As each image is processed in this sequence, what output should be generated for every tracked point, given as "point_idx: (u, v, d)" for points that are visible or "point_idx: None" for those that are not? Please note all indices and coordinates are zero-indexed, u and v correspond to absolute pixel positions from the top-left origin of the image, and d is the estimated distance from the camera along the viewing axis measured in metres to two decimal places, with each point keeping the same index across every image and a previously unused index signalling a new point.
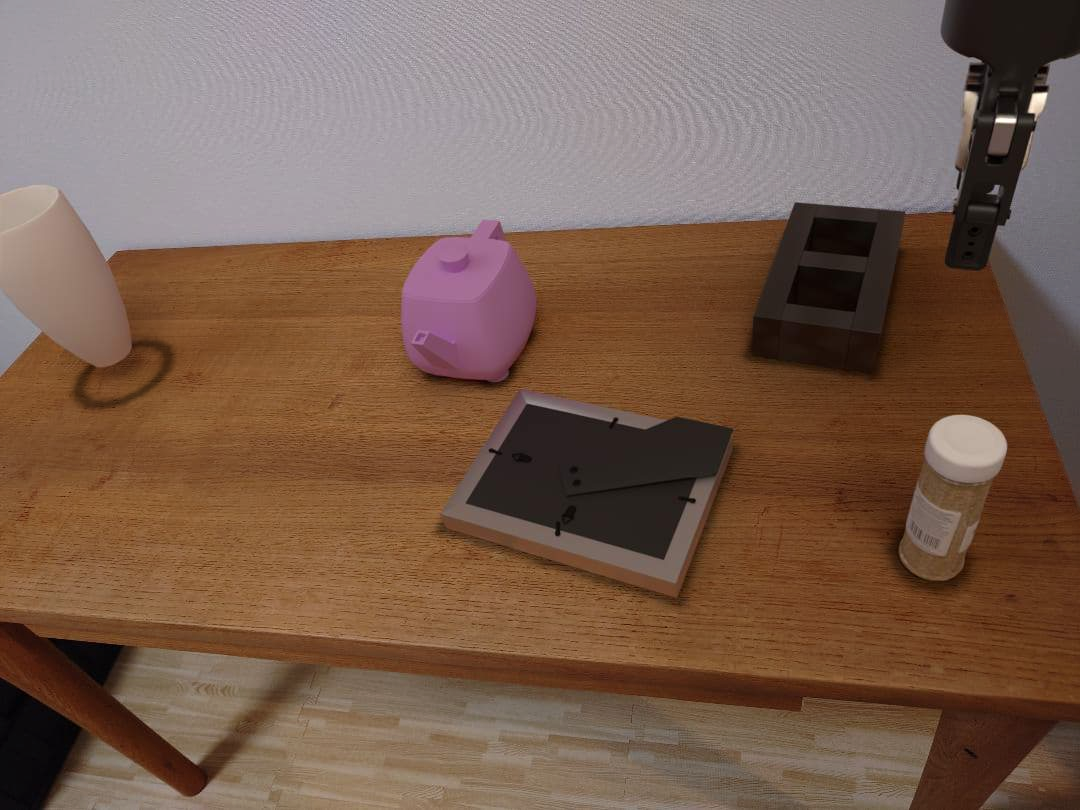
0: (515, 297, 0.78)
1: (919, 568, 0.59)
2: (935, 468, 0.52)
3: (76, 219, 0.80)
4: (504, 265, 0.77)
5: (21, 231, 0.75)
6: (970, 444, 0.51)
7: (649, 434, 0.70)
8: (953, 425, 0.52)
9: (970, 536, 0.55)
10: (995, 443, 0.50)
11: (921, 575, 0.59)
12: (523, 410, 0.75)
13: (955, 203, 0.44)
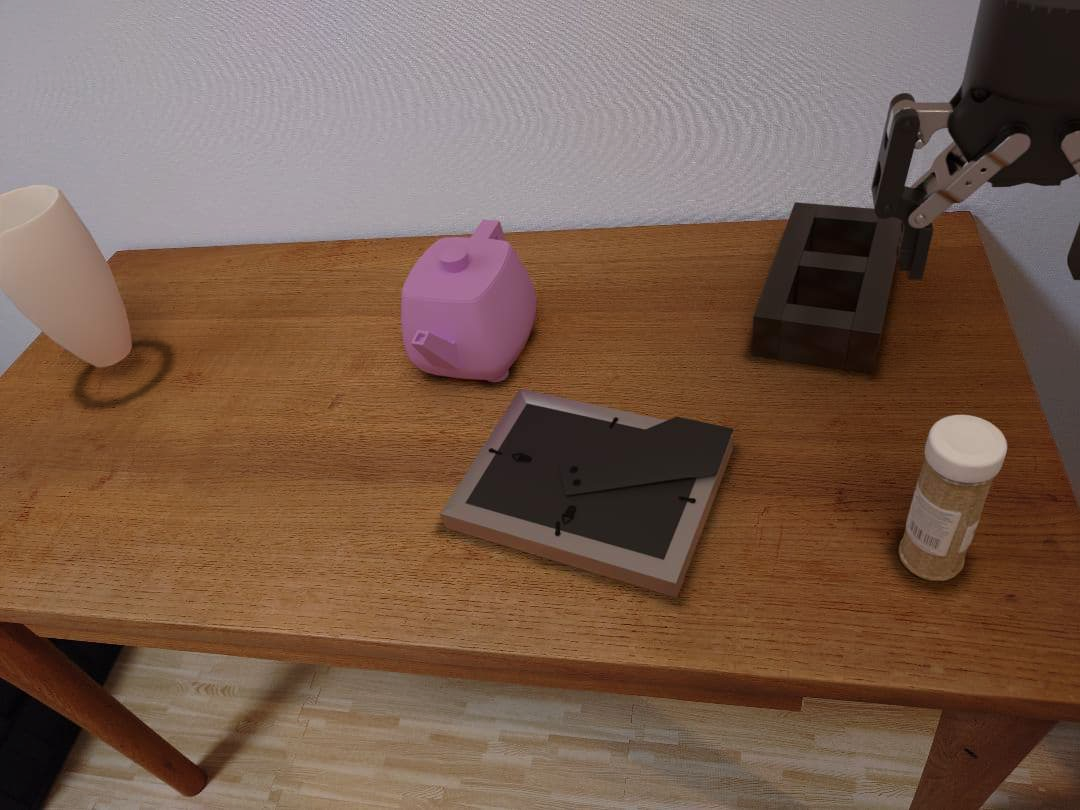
0: (515, 297, 0.78)
1: (919, 568, 0.59)
2: (935, 468, 0.52)
3: (76, 219, 0.80)
4: (504, 265, 0.77)
5: (21, 231, 0.75)
6: (970, 444, 0.51)
7: (649, 434, 0.70)
8: (953, 425, 0.52)
9: (970, 536, 0.55)
10: (995, 443, 0.50)
11: (921, 575, 0.59)
12: (523, 409, 0.75)
13: None
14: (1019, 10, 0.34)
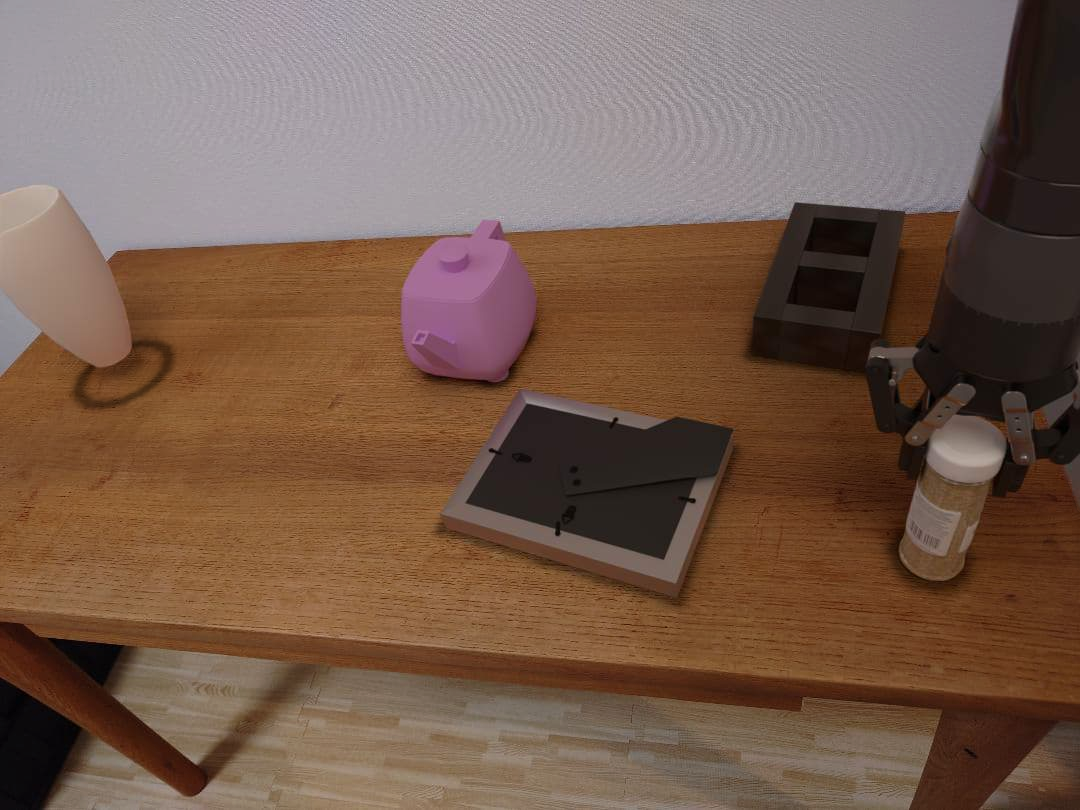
0: (515, 297, 0.78)
1: (919, 568, 0.59)
2: (935, 468, 0.52)
3: (76, 219, 0.80)
4: (504, 265, 0.77)
5: (21, 231, 0.75)
6: (970, 444, 0.51)
7: (649, 434, 0.70)
8: (953, 425, 0.52)
9: (970, 536, 0.55)
10: (995, 443, 0.50)
11: (921, 575, 0.59)
12: (523, 409, 0.75)
13: None
14: (958, 304, 0.42)
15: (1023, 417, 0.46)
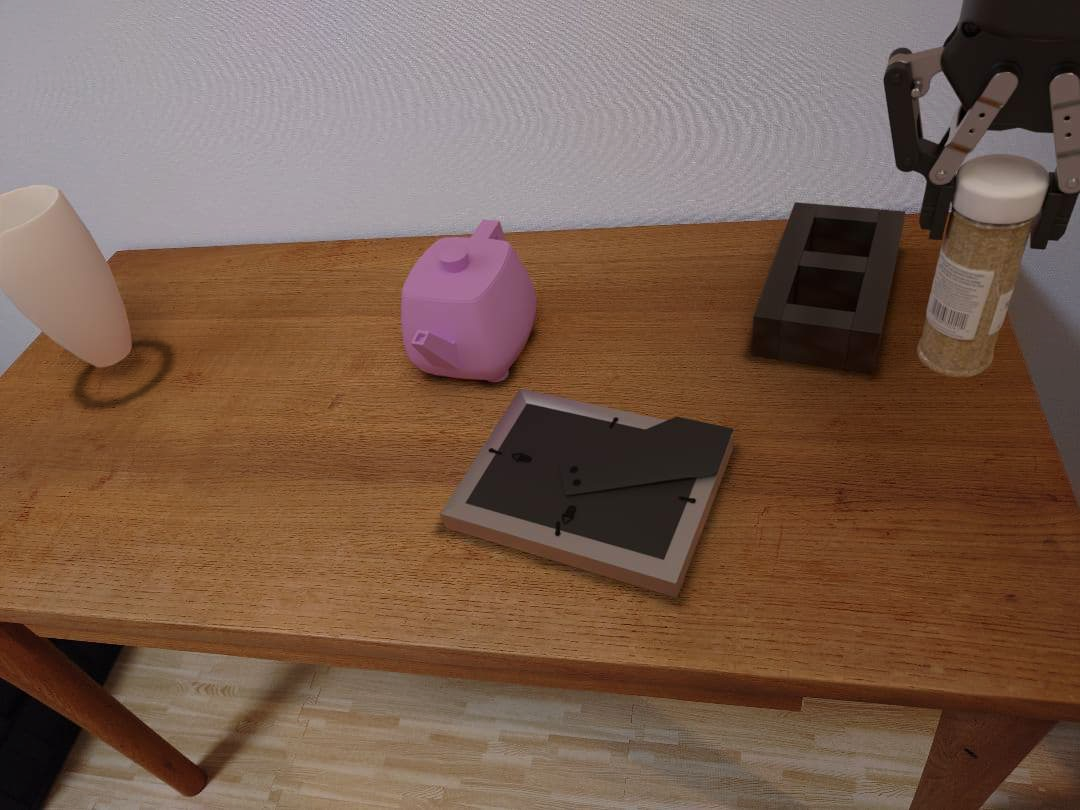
0: (515, 297, 0.78)
1: (942, 362, 0.51)
2: (964, 212, 0.44)
3: (76, 219, 0.80)
4: (504, 265, 0.77)
5: (21, 231, 0.75)
6: (1006, 178, 0.43)
7: (649, 434, 0.70)
8: (985, 163, 0.44)
9: (1003, 311, 0.48)
10: (1036, 174, 0.43)
11: (944, 371, 0.51)
12: (523, 409, 0.75)
13: None
14: None
15: (1075, 114, 0.39)
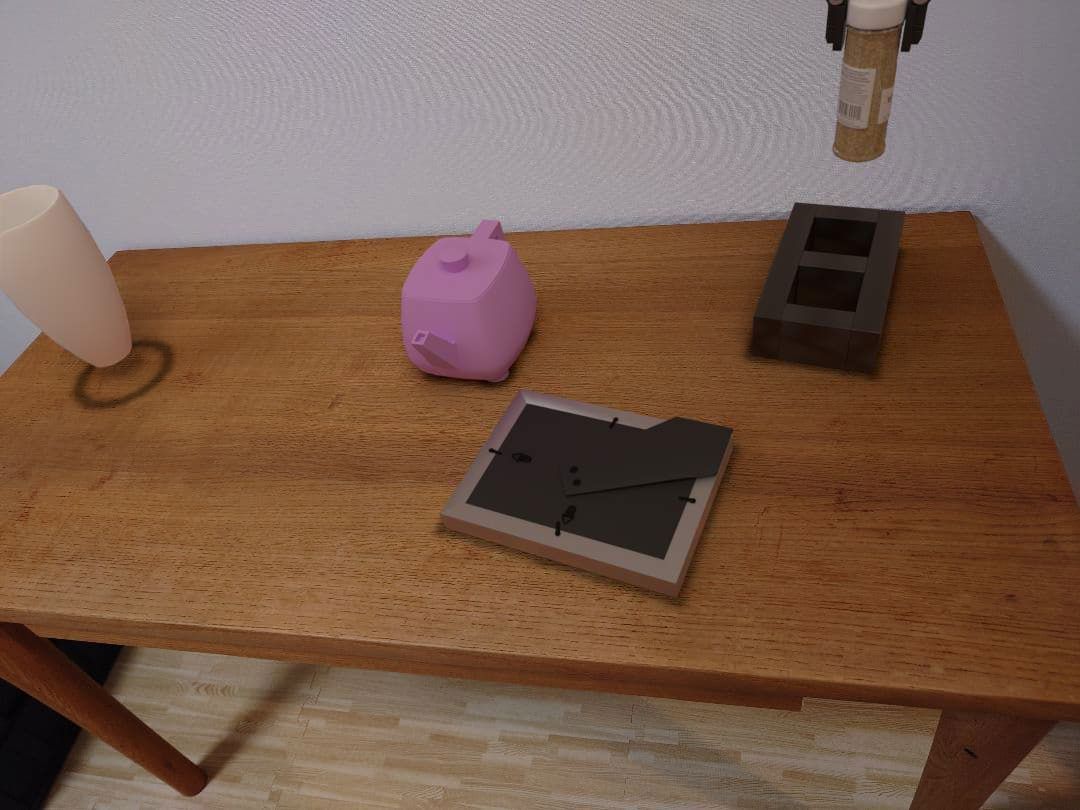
0: (515, 297, 0.78)
1: (847, 151, 0.70)
2: (852, 23, 0.63)
3: (76, 219, 0.80)
4: (504, 265, 0.77)
5: (21, 231, 0.75)
6: None
7: (649, 434, 0.70)
8: None
9: (886, 104, 0.67)
10: None
11: (849, 158, 0.71)
12: (523, 409, 0.75)
13: None
14: None
15: None
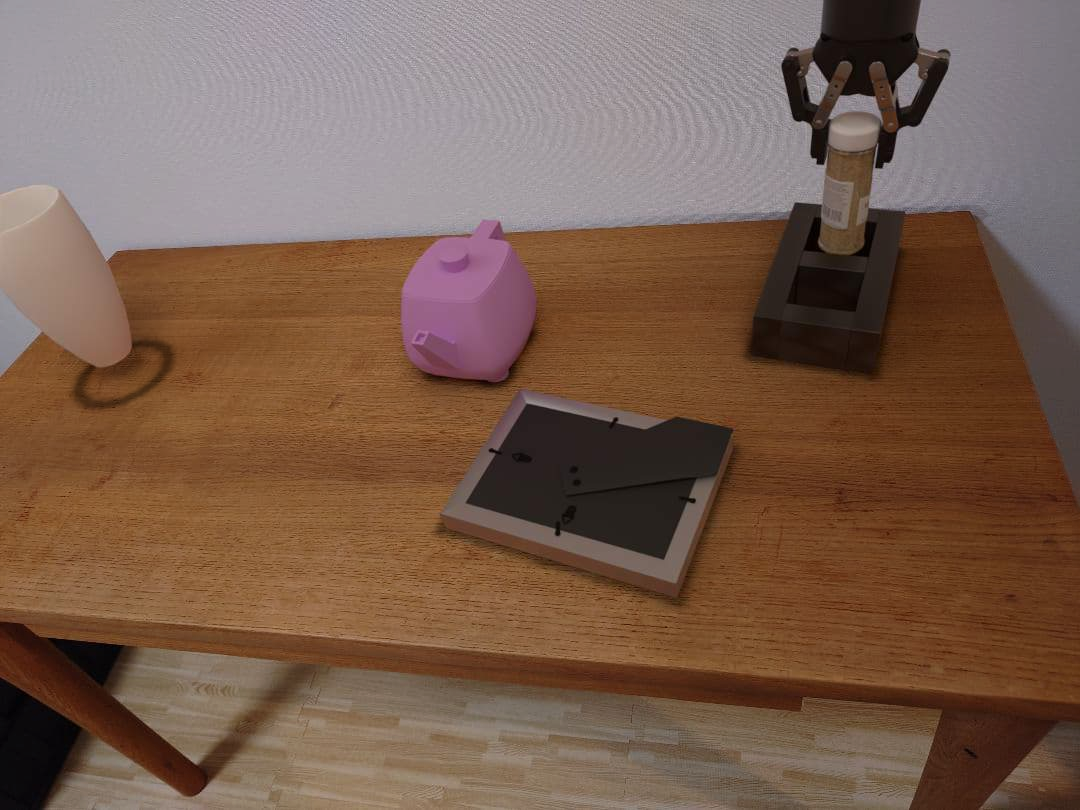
0: (515, 297, 0.78)
1: (831, 246, 0.81)
2: (833, 145, 0.74)
3: (76, 219, 0.80)
4: (504, 265, 0.77)
5: (21, 231, 0.75)
6: (856, 124, 0.73)
7: (649, 434, 0.70)
8: (846, 116, 0.74)
9: (863, 209, 0.77)
10: (873, 122, 0.72)
11: (832, 252, 0.81)
12: (523, 409, 0.75)
13: None
14: None
15: (885, 85, 0.68)
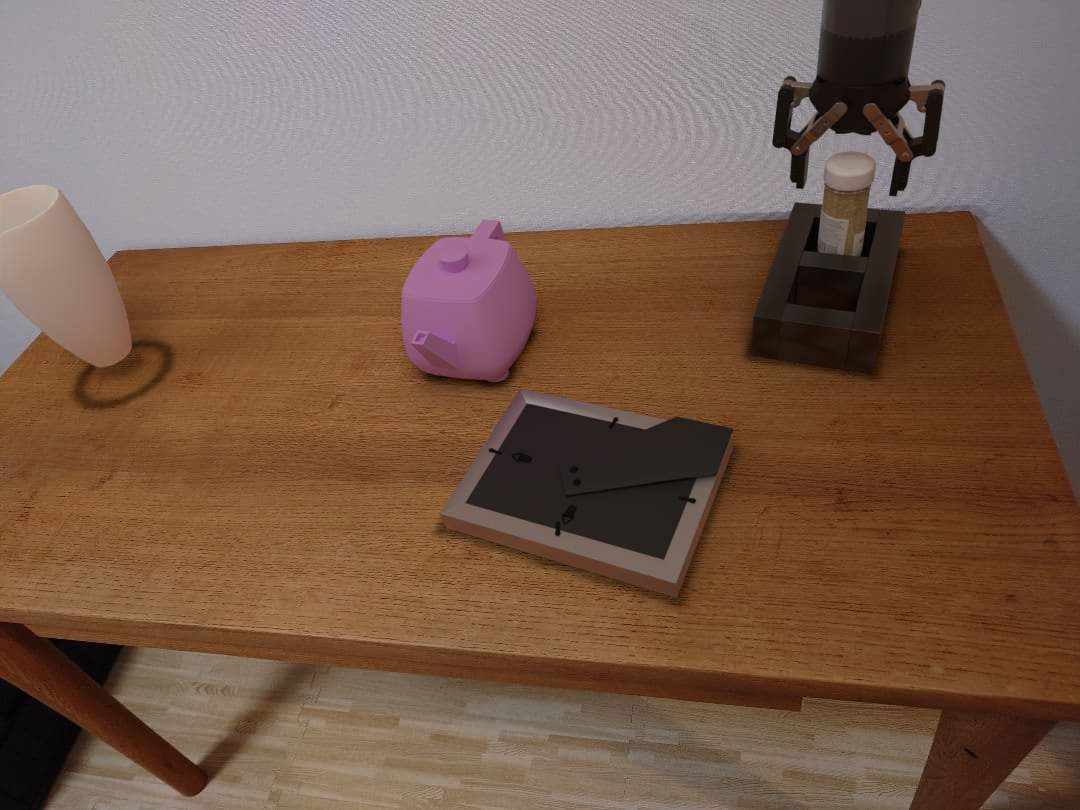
0: (515, 297, 0.78)
1: None
2: (829, 184, 0.76)
3: (76, 219, 0.80)
4: (504, 265, 0.77)
5: (21, 231, 0.75)
6: (851, 165, 0.75)
7: (649, 434, 0.70)
8: (841, 156, 0.77)
9: (858, 244, 0.80)
10: (867, 163, 0.75)
11: None
12: (523, 409, 0.75)
13: None
14: (828, 35, 0.67)
15: (884, 121, 0.70)
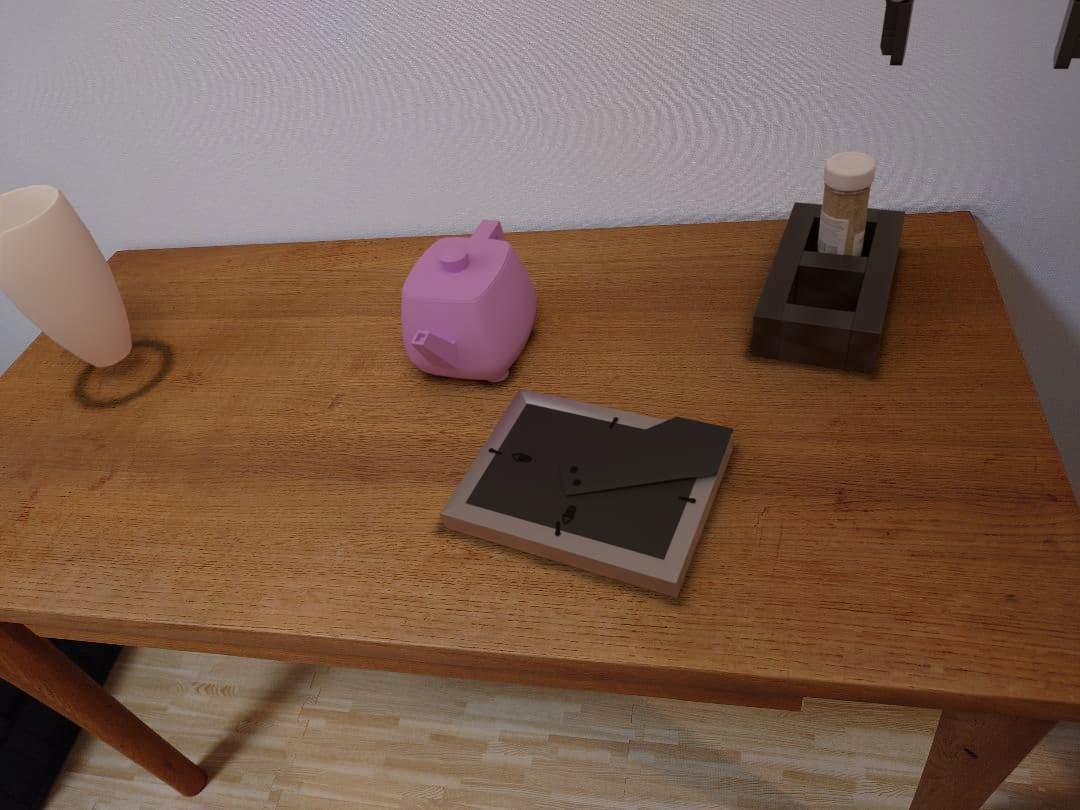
0: (515, 297, 0.78)
1: None
2: (829, 184, 0.76)
3: (76, 219, 0.80)
4: (504, 265, 0.77)
5: (21, 231, 0.75)
6: (851, 165, 0.75)
7: (649, 434, 0.70)
8: (841, 156, 0.77)
9: (858, 244, 0.80)
10: (867, 163, 0.75)
11: None
12: (523, 409, 0.75)
13: None
14: None
15: None
